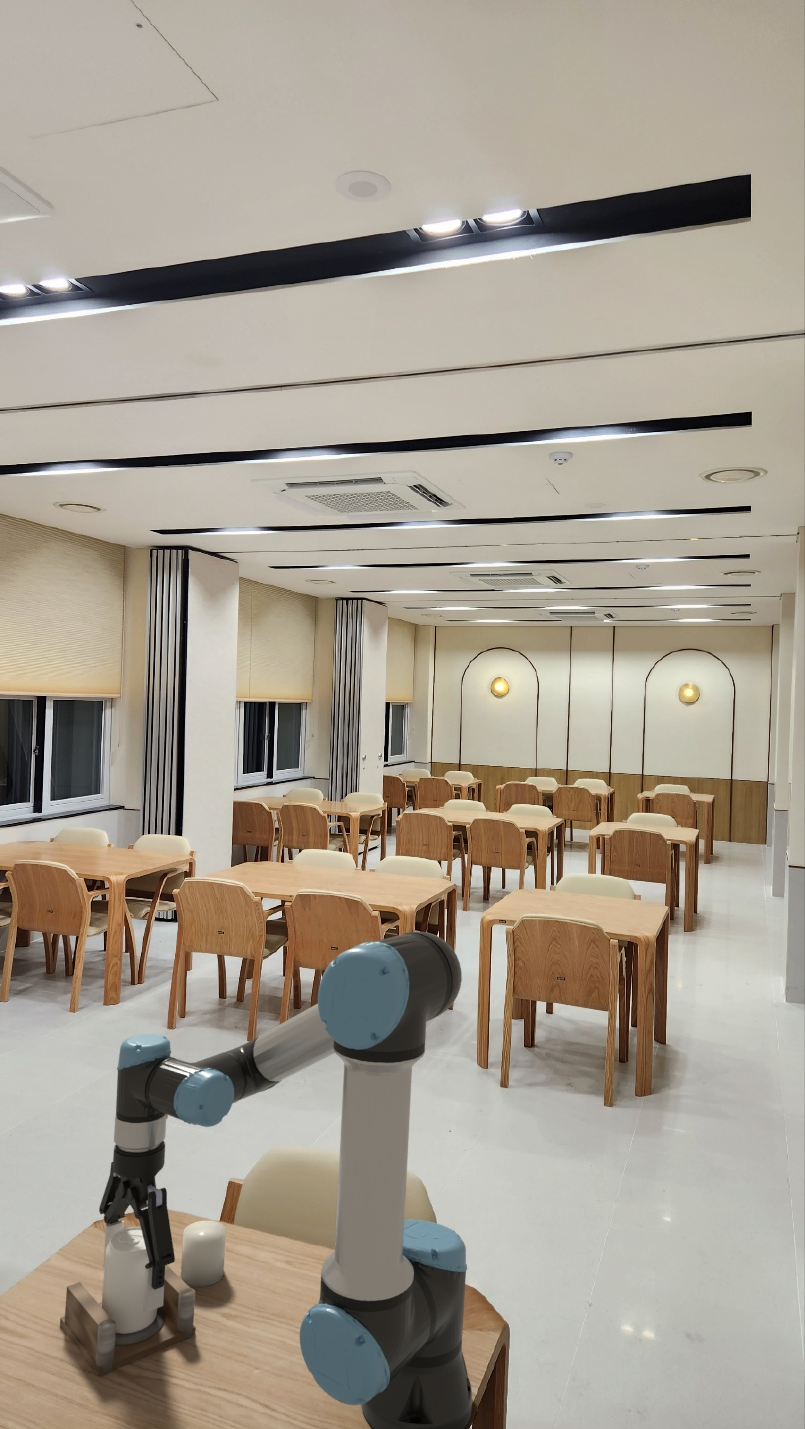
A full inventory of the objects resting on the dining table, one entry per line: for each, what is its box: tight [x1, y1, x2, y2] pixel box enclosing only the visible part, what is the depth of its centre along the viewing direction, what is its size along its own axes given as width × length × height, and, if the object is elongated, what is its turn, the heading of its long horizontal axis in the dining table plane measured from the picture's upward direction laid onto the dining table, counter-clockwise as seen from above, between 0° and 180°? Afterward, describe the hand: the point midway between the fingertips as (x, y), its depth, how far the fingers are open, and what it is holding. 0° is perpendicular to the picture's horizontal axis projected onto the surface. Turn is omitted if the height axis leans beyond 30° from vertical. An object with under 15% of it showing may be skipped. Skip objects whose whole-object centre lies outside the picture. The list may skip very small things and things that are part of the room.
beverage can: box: [101, 1226, 157, 1334], centre depth 136 cm, size 8×8×12 cm
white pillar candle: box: [180, 1220, 227, 1287], centre depth 151 cm, size 7×7×7 cm
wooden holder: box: [59, 1265, 197, 1377], centre depth 135 cm, size 14×15×6 cm
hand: (132, 1286), depth 135 cm, fingers open, 13 cm apart
